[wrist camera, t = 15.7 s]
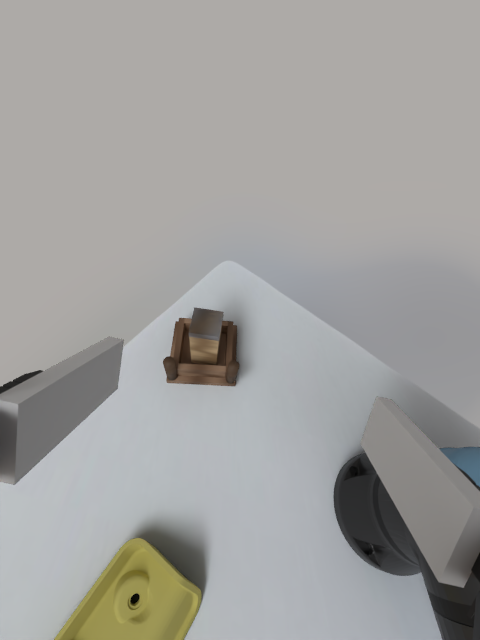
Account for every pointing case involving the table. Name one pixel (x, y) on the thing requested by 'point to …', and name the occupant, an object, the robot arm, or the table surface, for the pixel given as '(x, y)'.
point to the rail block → (205, 336)
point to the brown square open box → (195, 373)
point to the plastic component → (150, 610)
